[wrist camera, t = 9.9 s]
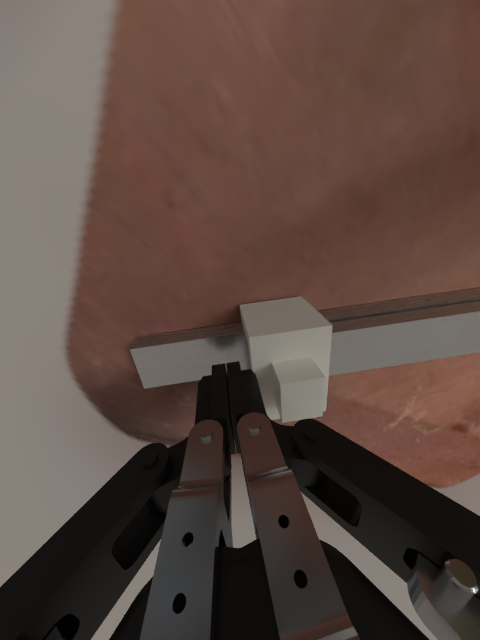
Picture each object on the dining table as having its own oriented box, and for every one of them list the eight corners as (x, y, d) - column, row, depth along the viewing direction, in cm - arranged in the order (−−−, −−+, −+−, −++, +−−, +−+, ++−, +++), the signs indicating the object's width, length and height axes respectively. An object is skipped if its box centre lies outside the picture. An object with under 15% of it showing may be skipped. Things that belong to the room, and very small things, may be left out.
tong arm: (297, 371, 15) (306, 388, 14) (297, 322, 14) (307, 335, 12) (577, 328, 16) (612, 339, 15) (607, 278, 15) (650, 285, 13)
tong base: (151, 377, 16) (138, 411, 13) (135, 332, 15) (117, 361, 12) (553, 315, 18) (616, 334, 15) (578, 269, 16) (653, 281, 13)
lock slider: (247, 375, 17) (263, 448, 12) (239, 304, 14) (254, 357, 9) (300, 366, 17) (339, 435, 12) (301, 296, 15) (350, 342, 9)
